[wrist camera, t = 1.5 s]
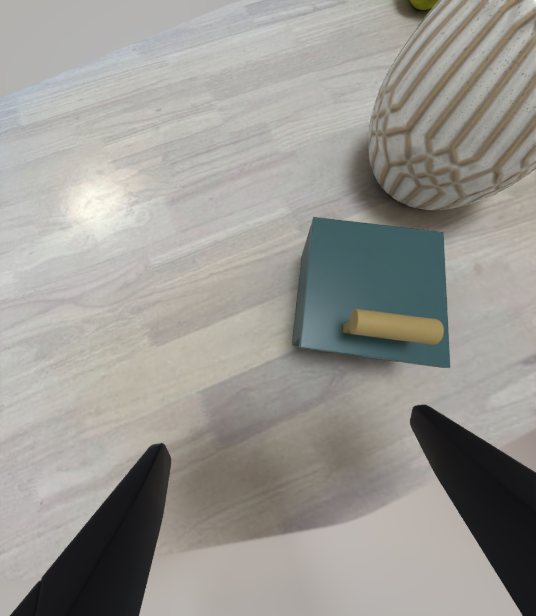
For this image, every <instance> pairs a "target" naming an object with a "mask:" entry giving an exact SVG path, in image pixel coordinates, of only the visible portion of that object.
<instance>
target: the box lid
mask: <svg viewBox="0 0 536 616" xmlns="http://www.w3.org/2000/svg"><path fill="white" fill-rule="evenodd" d="M299 348H302V349H309V350H316V351H324V352H331V353H338V354H346V355H353V356H360V357H368V358H375V359H382V360H390V361H397V362H404V363H412V364H419V365H426V366H433V367H441V368H450V354H449V335H448V315H447V295H446V276H445V256H444V236H443V232H438V231H429V230H421V229H412V228H403V227H395V226H386V225H377V224H369V223H360V222H352V221H343V220H334V219H326V218H317V217H313V220H312V225H311V235H310V245H309V255H308V264H307V274H306V284H305V294H304V303H303V313H302V323H301V332H300V342H299Z"/></svg>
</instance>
